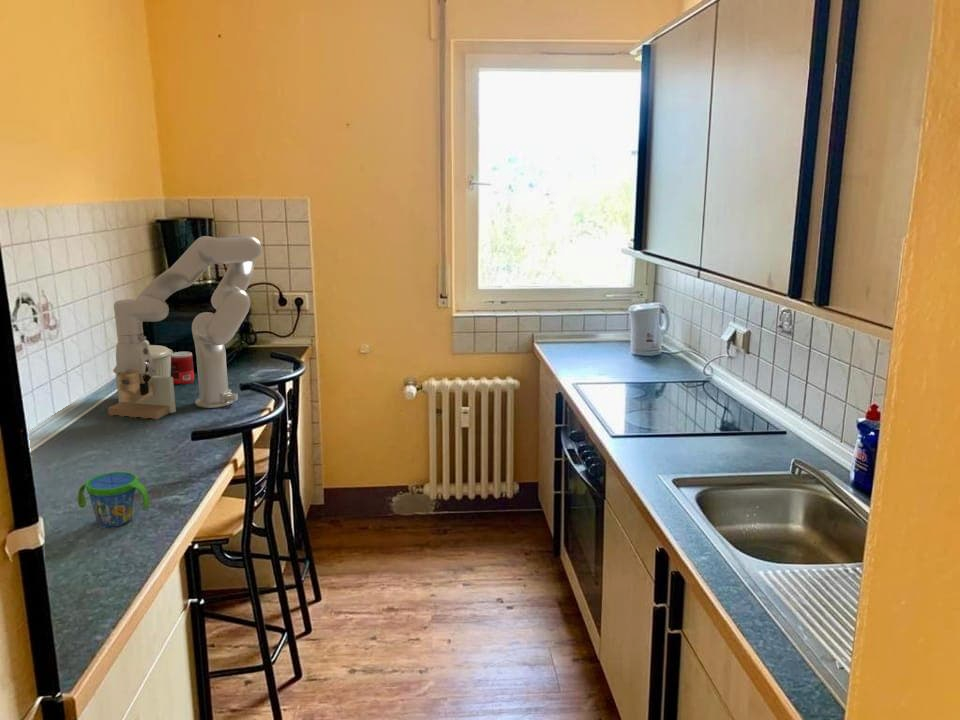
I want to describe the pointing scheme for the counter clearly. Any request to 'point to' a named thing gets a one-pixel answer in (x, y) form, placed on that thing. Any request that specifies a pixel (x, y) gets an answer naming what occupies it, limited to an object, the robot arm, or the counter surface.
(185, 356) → the canned food
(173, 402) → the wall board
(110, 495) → the snack cup
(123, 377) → the oak box
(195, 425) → the counter surface
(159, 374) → the canister
